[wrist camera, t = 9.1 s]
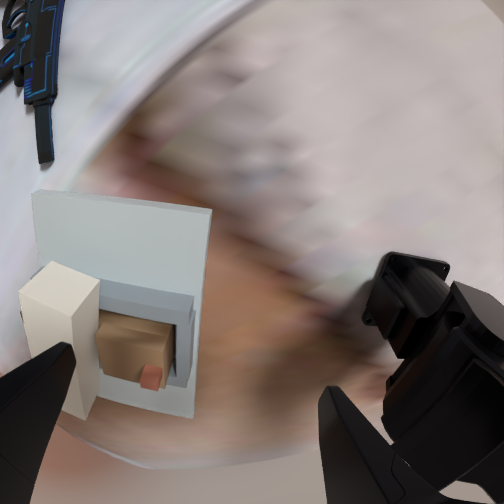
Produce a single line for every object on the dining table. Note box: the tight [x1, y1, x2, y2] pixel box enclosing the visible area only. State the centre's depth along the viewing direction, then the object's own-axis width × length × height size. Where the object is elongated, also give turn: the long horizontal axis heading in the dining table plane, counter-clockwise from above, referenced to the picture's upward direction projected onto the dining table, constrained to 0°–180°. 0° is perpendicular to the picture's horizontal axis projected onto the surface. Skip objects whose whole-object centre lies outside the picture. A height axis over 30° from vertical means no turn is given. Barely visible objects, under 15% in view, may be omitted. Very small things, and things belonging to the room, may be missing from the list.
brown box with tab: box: [20, 309, 175, 391], centre depth 19 cm, size 12×4×6 cm, turn 81°
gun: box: [0, 0, 65, 164], centre depth 12 cm, size 24×3×15 cm
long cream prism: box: [19, 261, 100, 421], centre depth 17 cm, size 4×12×4 cm, turn 161°
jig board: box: [31, 189, 212, 419], centre depth 21 cm, size 14×22×3 cm, turn 171°
